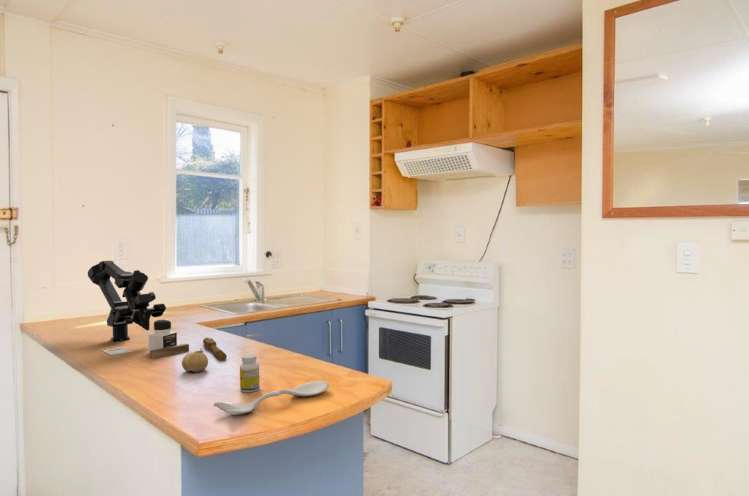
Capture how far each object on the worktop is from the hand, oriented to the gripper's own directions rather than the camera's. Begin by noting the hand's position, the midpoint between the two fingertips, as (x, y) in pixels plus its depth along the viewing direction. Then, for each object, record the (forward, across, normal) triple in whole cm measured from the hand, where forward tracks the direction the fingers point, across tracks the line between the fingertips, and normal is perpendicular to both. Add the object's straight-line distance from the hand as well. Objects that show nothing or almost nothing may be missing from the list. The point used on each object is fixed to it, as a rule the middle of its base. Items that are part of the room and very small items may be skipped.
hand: (148, 329), depth 194 cm
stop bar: (+17, 0, -7) cm, 18 cm away
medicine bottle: (+13, 0, -3) cm, 13 cm away
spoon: (+67, -9, -59) cm, 90 cm away
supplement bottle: (+57, -7, -48) cm, 75 cm away
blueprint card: (+3, -11, +7) cm, 13 cm away
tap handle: (+24, +12, -14) cm, 30 cm away
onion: (+36, -6, -27) cm, 45 cm away
